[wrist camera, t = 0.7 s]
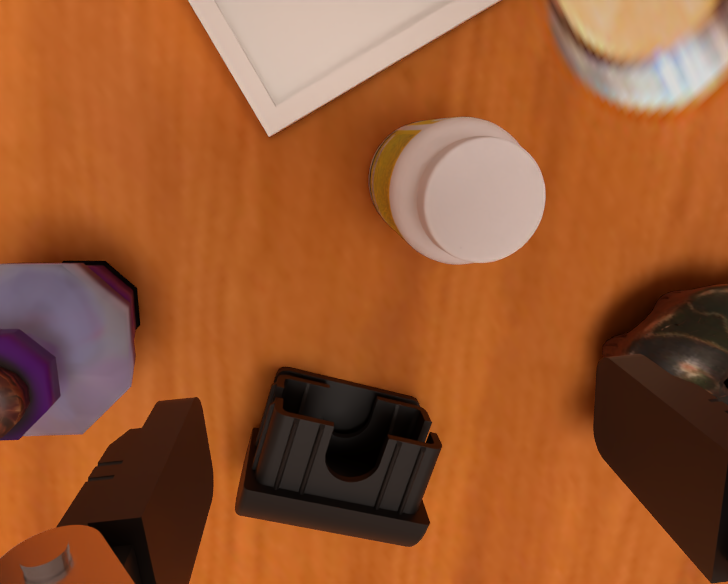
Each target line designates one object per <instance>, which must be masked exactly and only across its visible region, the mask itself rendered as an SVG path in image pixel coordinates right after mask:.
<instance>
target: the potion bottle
mask: <svg viewBox="0 0 728 584" xmlns="http://www.w3.org/2000/svg"><path fill="white" fill-rule="evenodd" d="M139 326H140V318H139V306H138V295H137V288H136V287H135V286H134V285H133V284H132V283H130V282H129V281H128V280H127V279H126V278H125V277H123V276H122V275H121V274H120V273H119V272H118V271H116V270H115V269H114V268H113V267H112V266H111V265H109V264H108V263H107V262H106V261H63V262H62V263H8V264H0V440H19V439H20V438H21V437H22V436H39V435H71V434H83V433H84V432H85V431H86V430H87V429H88V428H89V427H90V426H91V425H92V424H93V423H94V422H95V421H96V420H98V419H99V418H100V417H101V416H102V415H103V414H104V413H105V412H106V411H107V410H108V409H109V408H110V407H111V406H112V405H113V404H114V403H115V402H116V401H117V400H118V399H119V398H120V397H121V396H122V395H123V394H124V393H125V392H126V391H127V390H128V389H129V388H130V387H131V384H132V377H133V370H134V363H135V347H134V336H135V330H136V329H137V328H138V327H139Z"/></svg>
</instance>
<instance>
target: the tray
mask: <svg viewBox="0 0 728 584" xmlns="http://www.w3.org/2000/svg"><path fill="white" fill-rule="evenodd" d="M188 1H189V3H190V5H191V6H192V8H193V10H194V11H195V13H196V15H197V16H198V18H199V20H200V21H201V23H202V25H203V27H204V28H205V30H206V32H207V33H208V35H209V37H210V38H211V40H212V42H213V43H214V45H215V47H216V48H217V50H218V52H219V54H220V55H221V57H222V59H223V60H224V62H225V64H226V65H227V67H228V69H229V70H230V72H231V74H232V75H233V77H234V79H235V81H236V82H237V84H238V86H239V87H240V89H241V91H242V92H243V94H244V96H245V97H246V99H247V101H248V102H249V104H250V106H251V108H252V109H253V111H254V113H255V114H256V116H257V118H258V119H259V121H260V123H261V124H262V126H263V128H264V129H265V131H266V133H267V135H268V136H269V137H271V136H273V135H275V134H277V133H278V132H280V131H282V130H284V129H285V128H287V127H289V126H290V125H292V124H294V123H295V122H297V121H299V120H300V119H302V118H304V117H305V116H307V115H309V114H311V113H312V112H314V111H316V110H317V109H319V108H321V107H322V106H324V105H326V104H327V103H329V102H331V101H333V100H334V99H336V98H338V97H339V96H341V95H343V94H344V93H346V92H348V91H349V90H351V89H353V88H355V87H356V86H358V85H360V84H361V83H363V82H365V81H366V80H368V79H370V78H371V77H373V76H375V75H376V74H378V73H380V72H382V71H383V70H385V69H387V68H388V67H390V66H392V65H393V64H395V63H397V62H398V61H400V60H402V59H404V58H405V57H407V56H409V55H410V54H412V53H414V52H415V51H417V50H419V49H420V48H422V47H424V46H425V45H427V44H429V43H431V42H432V41H434V40H436V39H437V38H439V37H441V36H442V35H444V34H446V33H447V32H449V31H451V30H453V29H454V28H456V27H458V26H459V25H461V24H463V23H464V22H466V21H468V20H469V19H471V18H473V17H474V16H476V15H478V14H480V13H481V12H483V11H485V10H486V9H488V8H490V7H491V6H493V5H495V4H496V3H498V2H500V1H502V0H188Z"/></svg>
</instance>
